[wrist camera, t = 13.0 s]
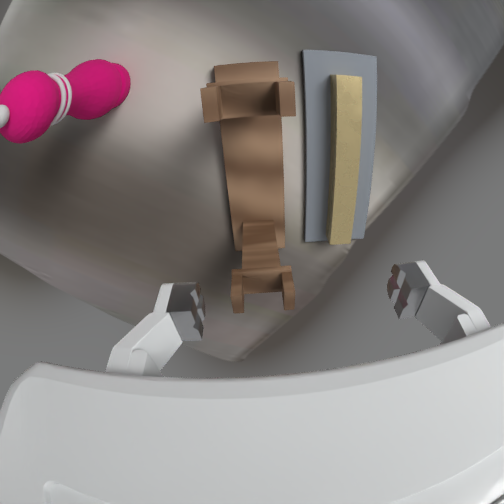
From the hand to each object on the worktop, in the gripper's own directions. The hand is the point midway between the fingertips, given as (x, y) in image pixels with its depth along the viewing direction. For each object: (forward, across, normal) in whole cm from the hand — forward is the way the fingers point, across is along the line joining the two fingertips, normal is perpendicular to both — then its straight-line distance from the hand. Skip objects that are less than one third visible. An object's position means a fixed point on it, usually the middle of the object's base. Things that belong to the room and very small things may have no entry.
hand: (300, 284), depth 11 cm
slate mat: (+25, -10, +3) cm, 27 cm away
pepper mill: (+26, +18, -10) cm, 33 cm away
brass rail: (+24, -9, +4) cm, 26 cm away
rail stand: (+25, +2, +3) cm, 26 cm away
